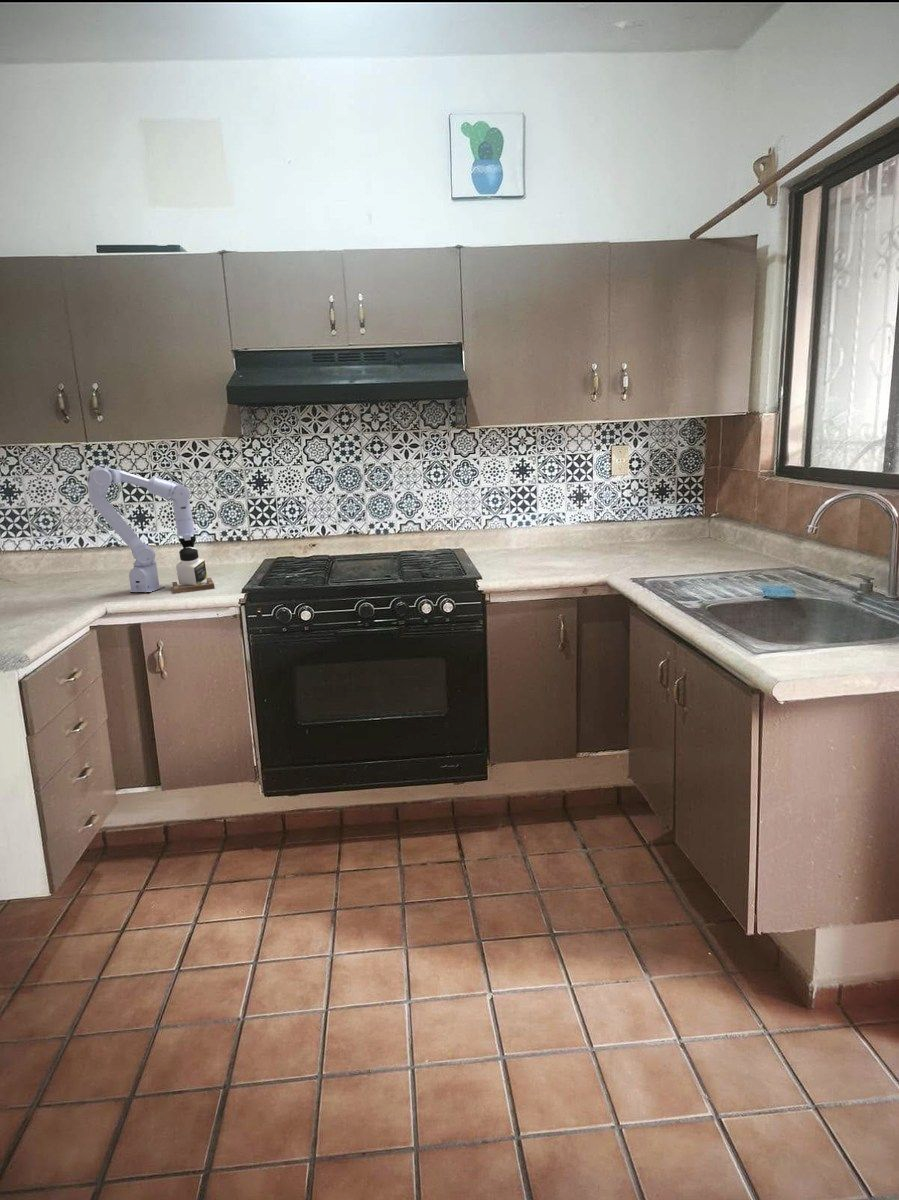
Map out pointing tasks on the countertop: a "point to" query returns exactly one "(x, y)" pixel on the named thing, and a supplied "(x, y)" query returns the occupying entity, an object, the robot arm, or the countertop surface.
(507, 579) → the countertop surface
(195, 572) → the medicine bottle
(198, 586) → the walnut frame
